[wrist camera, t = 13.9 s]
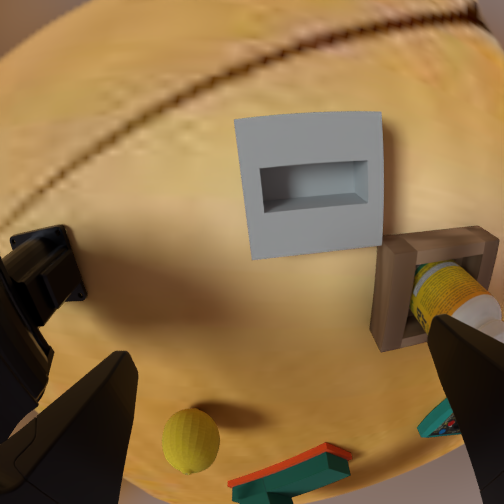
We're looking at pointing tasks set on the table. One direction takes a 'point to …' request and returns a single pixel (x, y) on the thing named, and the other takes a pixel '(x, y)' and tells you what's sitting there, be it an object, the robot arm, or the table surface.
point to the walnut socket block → (403, 271)
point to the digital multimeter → (439, 422)
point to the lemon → (190, 441)
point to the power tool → (292, 476)
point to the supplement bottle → (454, 298)
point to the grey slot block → (312, 181)
